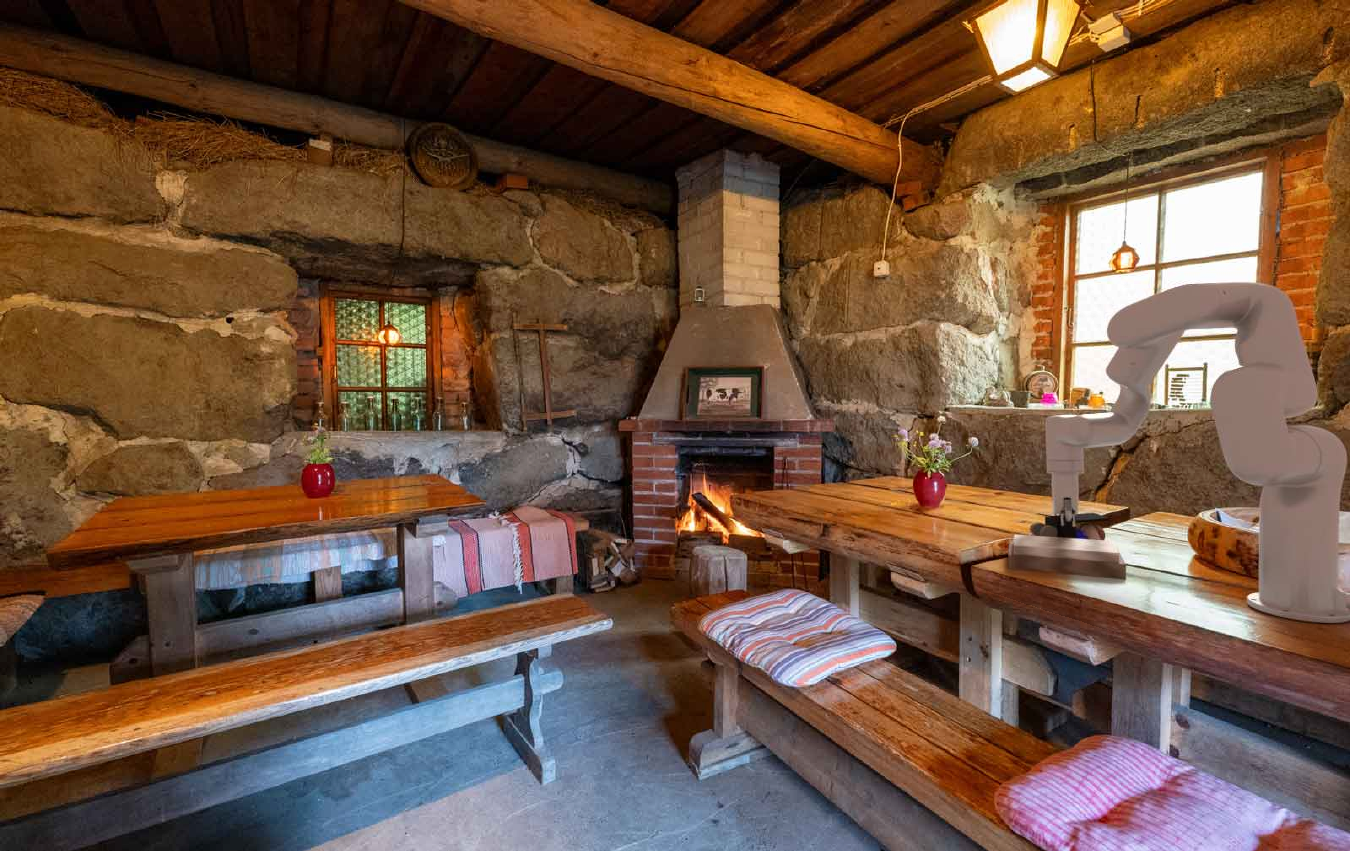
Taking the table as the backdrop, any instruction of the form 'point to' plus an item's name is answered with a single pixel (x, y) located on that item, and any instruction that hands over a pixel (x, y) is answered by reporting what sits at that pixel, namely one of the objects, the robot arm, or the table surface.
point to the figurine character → (1087, 532)
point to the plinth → (1067, 565)
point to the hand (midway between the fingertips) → (1067, 539)
